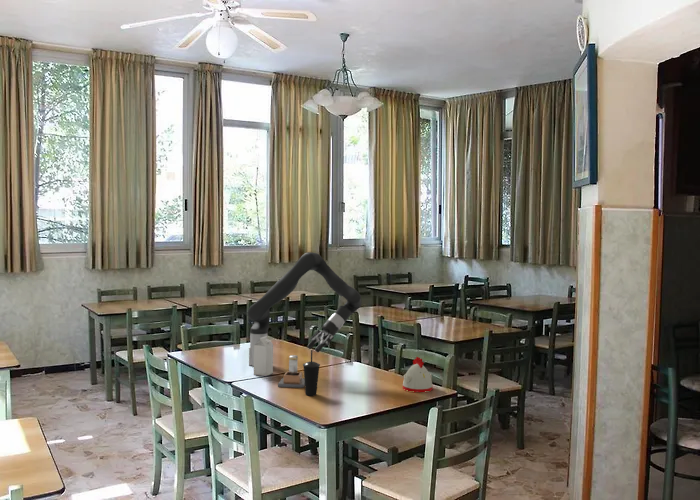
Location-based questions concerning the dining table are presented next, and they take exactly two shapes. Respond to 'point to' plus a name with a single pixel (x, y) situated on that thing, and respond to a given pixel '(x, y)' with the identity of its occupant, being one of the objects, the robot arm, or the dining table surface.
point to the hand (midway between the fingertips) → (312, 349)
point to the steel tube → (293, 364)
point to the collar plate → (292, 381)
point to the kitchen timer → (417, 378)
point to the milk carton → (263, 357)
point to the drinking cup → (311, 377)
